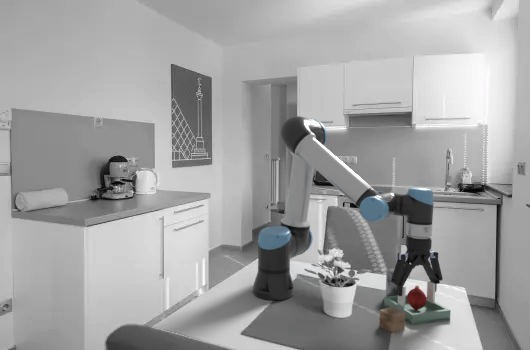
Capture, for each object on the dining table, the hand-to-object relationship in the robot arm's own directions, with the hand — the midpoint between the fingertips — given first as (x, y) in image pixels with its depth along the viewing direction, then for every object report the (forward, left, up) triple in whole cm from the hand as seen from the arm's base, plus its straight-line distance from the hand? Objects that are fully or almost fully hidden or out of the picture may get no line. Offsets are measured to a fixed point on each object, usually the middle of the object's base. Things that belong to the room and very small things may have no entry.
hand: (416, 303), depth 114 cm
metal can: (-11, 0, -3) cm, 11 cm away
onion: (0, 0, -2) cm, 2 cm away
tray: (0, 0, -3) cm, 3 cm away
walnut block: (+7, -14, -3) cm, 16 cm away
